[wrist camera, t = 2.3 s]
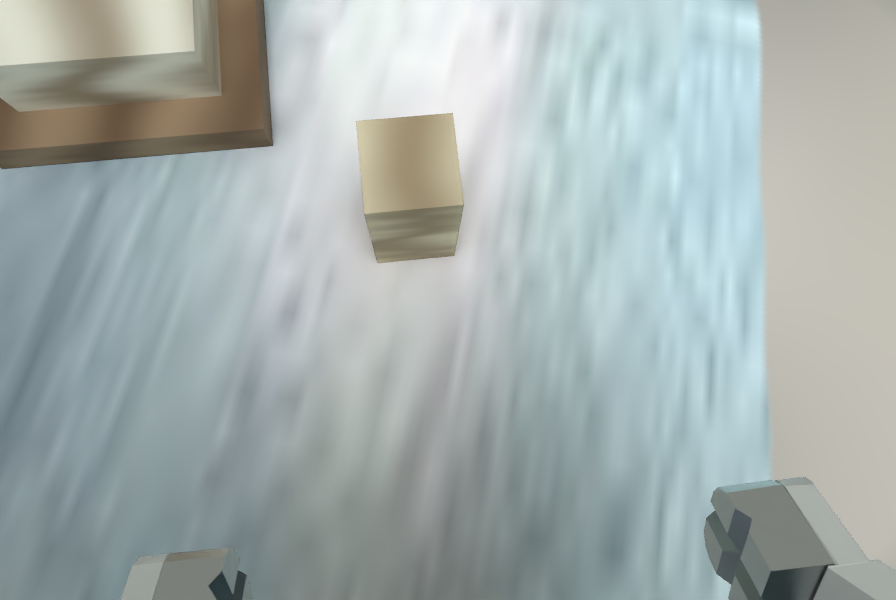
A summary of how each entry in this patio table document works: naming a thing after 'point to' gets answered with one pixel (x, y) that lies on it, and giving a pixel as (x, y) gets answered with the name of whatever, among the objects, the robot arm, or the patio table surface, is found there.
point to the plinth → (158, 118)
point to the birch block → (411, 186)
